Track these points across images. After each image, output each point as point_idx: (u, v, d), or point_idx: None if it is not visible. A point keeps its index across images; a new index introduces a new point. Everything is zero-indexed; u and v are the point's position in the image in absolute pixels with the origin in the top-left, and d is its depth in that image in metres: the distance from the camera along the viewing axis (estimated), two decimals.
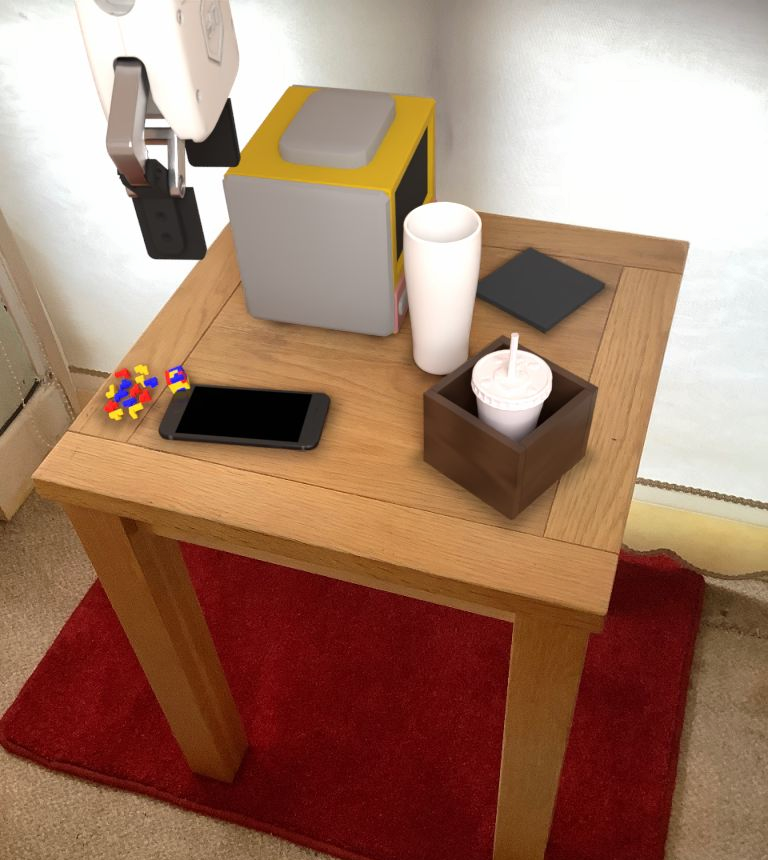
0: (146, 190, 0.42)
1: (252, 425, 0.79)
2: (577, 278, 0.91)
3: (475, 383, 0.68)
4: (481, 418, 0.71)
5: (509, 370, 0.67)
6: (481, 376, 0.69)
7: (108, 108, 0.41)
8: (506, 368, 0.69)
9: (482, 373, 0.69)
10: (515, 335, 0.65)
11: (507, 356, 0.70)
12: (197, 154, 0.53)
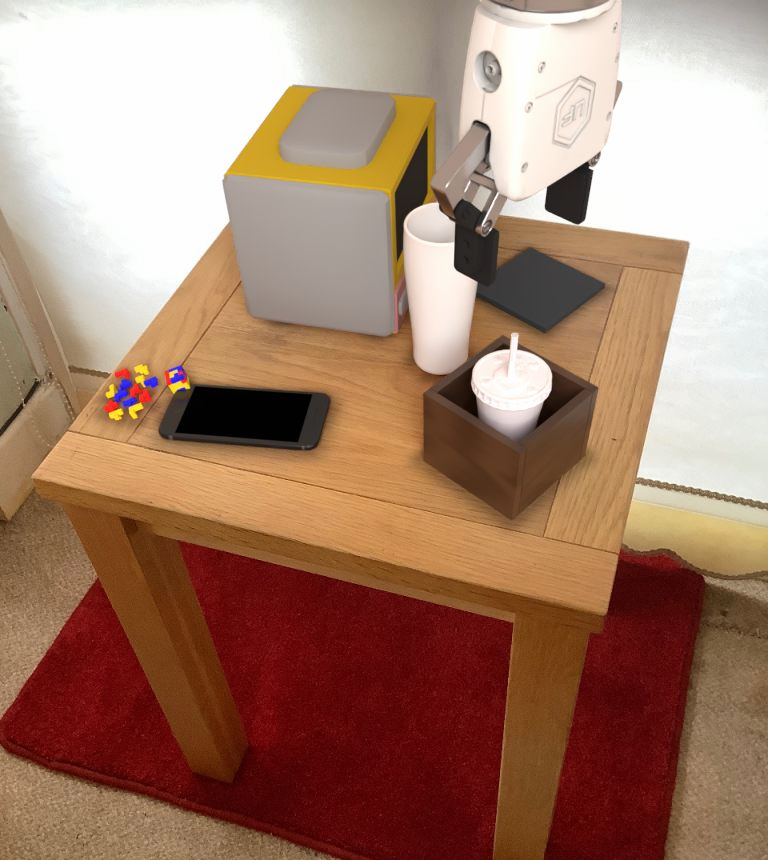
0: (456, 221, 0.53)
1: (252, 425, 0.79)
2: (577, 278, 0.91)
3: (475, 383, 0.68)
4: (481, 418, 0.71)
5: (509, 370, 0.67)
6: (481, 376, 0.69)
7: None
8: (506, 368, 0.69)
9: (482, 373, 0.69)
10: (515, 335, 0.65)
11: (507, 356, 0.70)
12: (552, 203, 0.61)
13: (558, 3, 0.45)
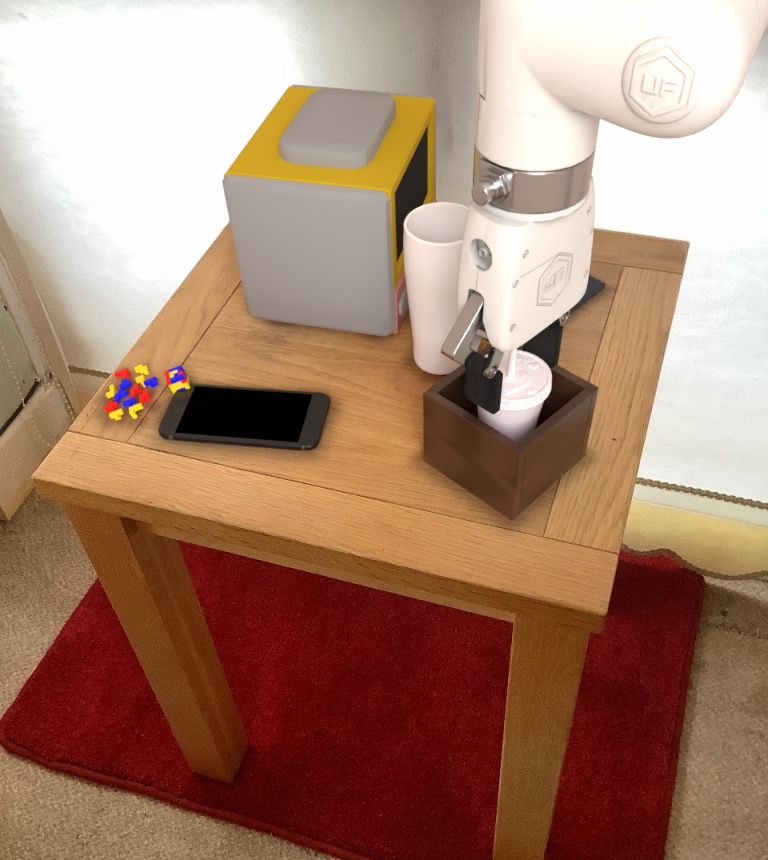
0: None
1: (252, 425, 0.79)
2: None
3: None
4: (481, 418, 0.71)
5: (509, 370, 0.67)
6: None
7: (458, 310, 0.61)
8: (506, 368, 0.69)
9: None
10: None
11: (507, 356, 0.70)
12: (529, 348, 0.70)
13: (538, 207, 0.53)
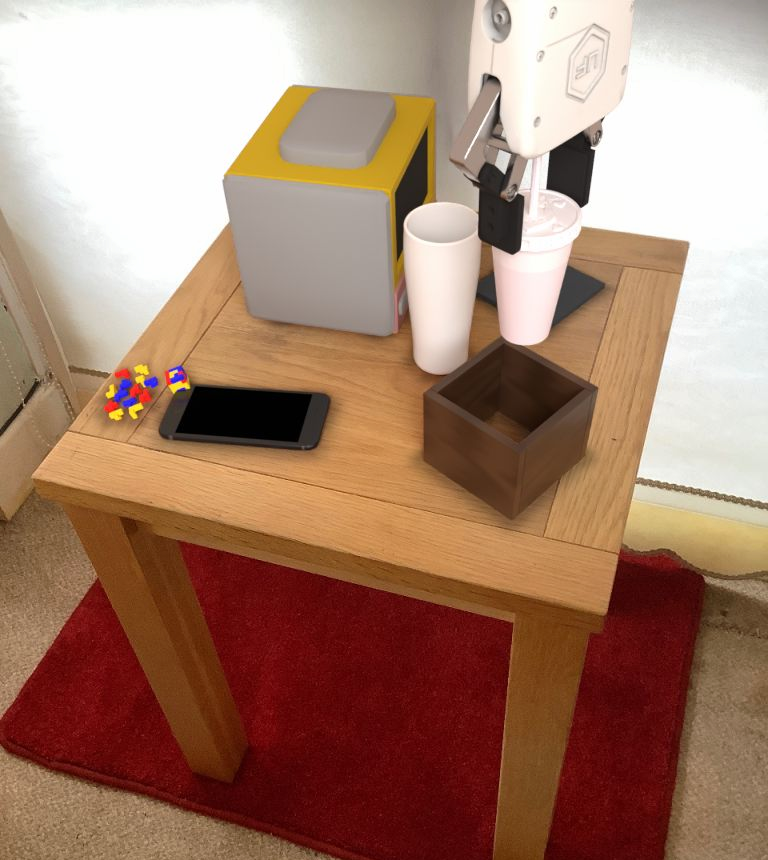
0: (481, 186, 0.52)
1: (252, 425, 0.79)
2: (577, 278, 0.91)
3: None
4: (498, 271, 0.60)
5: (531, 204, 0.56)
6: None
7: (469, 109, 0.50)
8: (527, 206, 0.58)
9: None
10: None
11: (527, 195, 0.59)
12: (553, 186, 0.59)
13: None
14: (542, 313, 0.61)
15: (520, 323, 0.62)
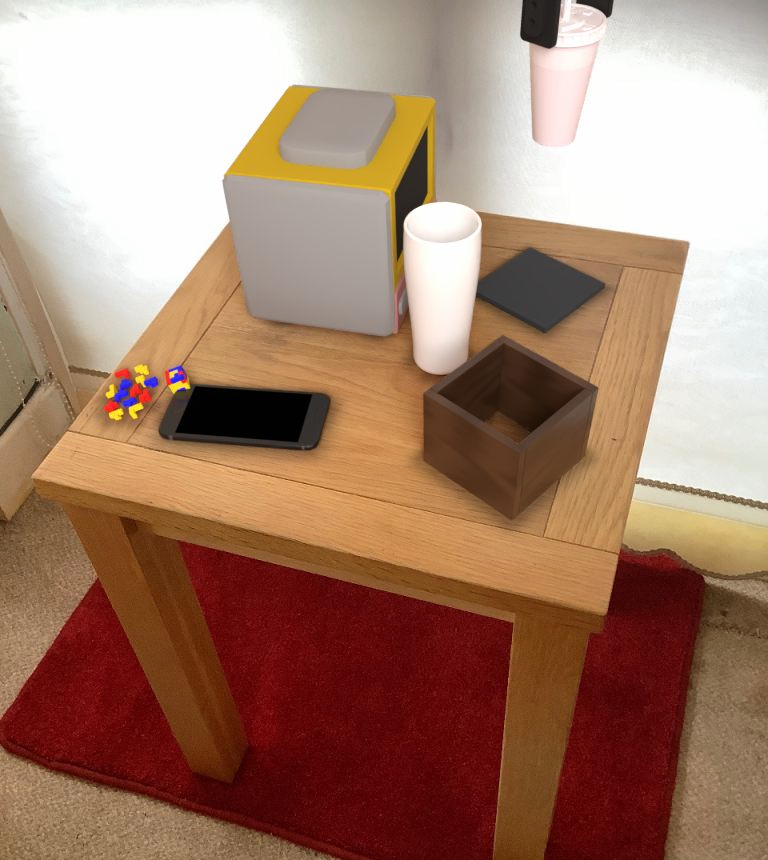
0: None
1: (252, 425, 0.79)
2: (577, 278, 0.91)
3: None
4: (534, 73, 0.71)
5: (564, 7, 0.68)
6: None
7: None
8: (560, 13, 0.69)
9: None
10: None
11: None
12: (582, 1, 0.71)
13: None
14: (570, 113, 0.73)
15: (551, 124, 0.73)
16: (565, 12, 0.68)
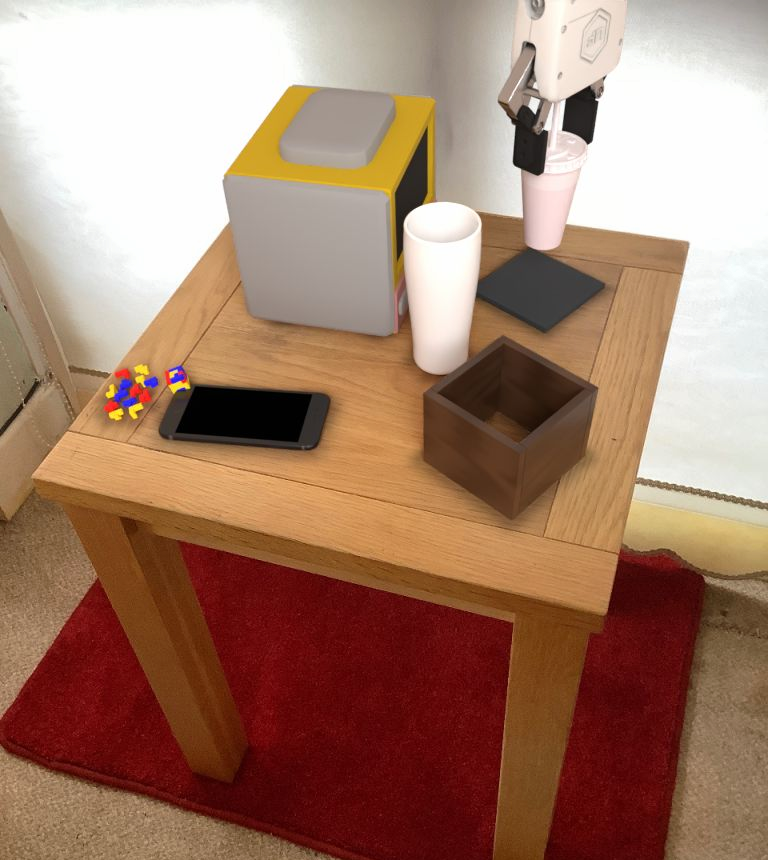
0: (518, 122, 0.74)
1: (252, 425, 0.79)
2: (577, 278, 0.91)
3: None
4: (525, 190, 0.82)
5: (551, 139, 0.78)
6: None
7: (512, 67, 0.72)
8: (548, 141, 0.80)
9: None
10: None
11: (548, 135, 0.81)
12: (567, 129, 0.81)
13: None
14: (557, 224, 0.83)
15: (540, 232, 0.84)
16: (551, 143, 0.78)
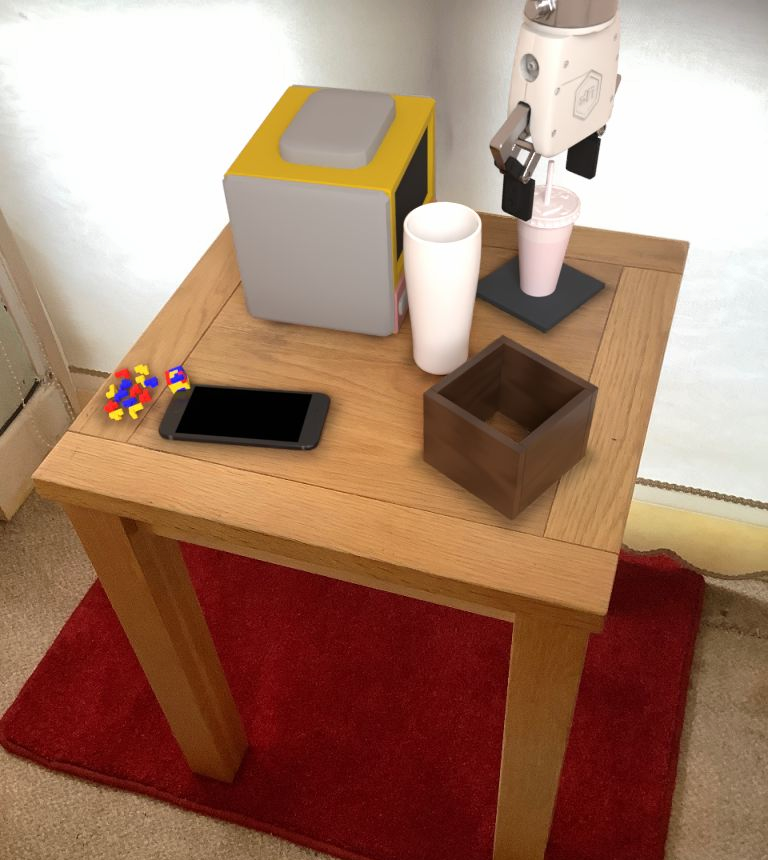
0: (506, 172, 0.76)
1: (252, 425, 0.79)
2: (577, 278, 0.91)
3: None
4: (521, 242, 0.86)
5: (545, 195, 0.82)
6: None
7: None
8: (542, 197, 0.84)
9: None
10: (551, 161, 0.80)
11: (543, 189, 0.85)
12: (571, 164, 0.84)
13: (577, 21, 0.68)
14: (551, 273, 0.87)
15: (535, 280, 0.88)
16: (546, 199, 0.82)
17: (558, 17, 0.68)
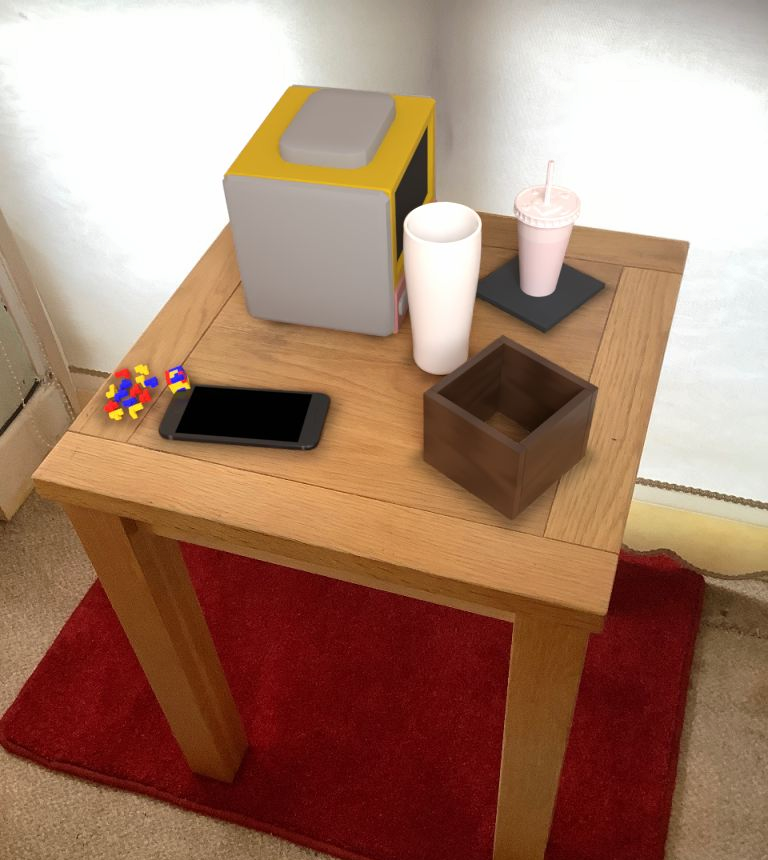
0: None
1: (252, 425, 0.79)
2: (577, 278, 0.91)
3: (517, 208, 0.83)
4: (521, 242, 0.86)
5: (545, 195, 0.82)
6: (522, 203, 0.83)
7: None
8: (542, 197, 0.84)
9: (522, 201, 0.84)
10: (551, 161, 0.80)
11: (543, 189, 0.85)
12: None
13: None
14: (551, 273, 0.87)
15: (535, 280, 0.88)
16: (546, 199, 0.82)
17: None
